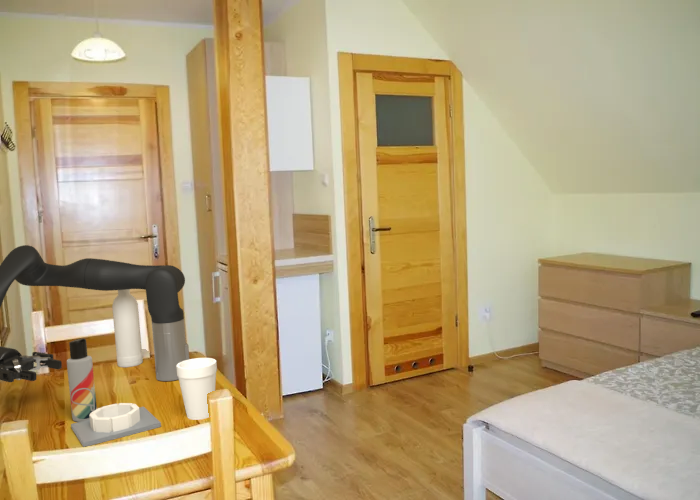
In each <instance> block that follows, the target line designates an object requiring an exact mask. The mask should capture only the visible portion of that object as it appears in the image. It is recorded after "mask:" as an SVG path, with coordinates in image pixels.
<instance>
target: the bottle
mask: <svg viewBox="0 0 700 500" xmlns="http://www.w3.org/2000/svg"><path fill="white" fill-rule="evenodd" d="M111 306H112V307H111V308H112V317H113V319H112V321H113V329H114V341H115V349H116V351H115V352H116V357H115V358H116V363H117V367H120V368H133V367H137V366H139V365H141V364H143V363H144V362H143V361H144V360H143V357H144V355H143V350H142V337H141V327H140V326H141V325H140V315H139V303H138V301H137V299H136V297H135V296H134V295H133V294H131V289H126V290H117V296H116V297H115V298H114V299H113V301H112V305H111Z"/></svg>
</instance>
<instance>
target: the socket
mask: <svg viewBox="0 0 700 500" xmlns="http://www.w3.org/2000/svg"><path fill="white" fill-rule="evenodd" d="M89 416H90V420H86V421H81V422H74V423H70V428H71V430H72V431H73V433H74V434H75V436H76V438H77V439H78V441H79V442H80V445H82V447H83V448H86V447H89V446H94V445H97V444H101V443H105V442H108V441H113V440H115V439H120V438H124V437H128V436H131V435H135V434H138V433H143V432H146V431H150V430H153V429H158V428H161V427H162V422H161V421H160V420H159V419H158V418H157V417H155V416H154V415H153V414H152V413H151V412H150V411H149V410H148V409H147V408H146V407H145V406H140V407H139V406H138V405H137V404H136V403H134V402H133V403H131V402H119V403H117V402H116V403H112V404H109V405H104V406H101V407H97V409H96V410H95V411H93V412H91V413H90V415H89ZM85 446H86V447H85Z"/></svg>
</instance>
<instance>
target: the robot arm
mask: <svg viewBox="0 0 700 500" xmlns="http://www.w3.org/2000/svg"><path fill="white" fill-rule="evenodd" d="M14 281H16V282H17V283H18V284H20V285H22V286H25V287H26V286H28V287H64V288H66V287H67V288H73V289H74V288H77V289H85V290H93V291H105V292H107V291H111V292H112V291H118V290H126V289H130V290H135V289H136V290H145V295H146V296H145V297H146V303H147V311H148V314H149V316H150V319H151V331H152V341H153V354H154V365H155V377H156V380H157V381H160V382H171V381H177V380H178V381H179V378H178V376H177V368H176V366H177V364H178V363H180V362H182V361H185V360H189V359H190V350H189V344H188V343H187V341H186V339H187V338H186V328H185V327H186V325H185V315H184V309H182V308H181V306H180V302H179V300H180V299H179V292H180V291H181V290H183V288H184V287H185V284H186V278H185V275H184V273H183V272H182V270H181V269H180V268H178V267H176V266H174V265H169V264H167V265H165V264H164V265H145V264H136V263H135V264H134V263H129V262H124V261H123V262H122V261H117V260H116V261H115V260H109V259H102V258H93V257H92V258H90V257H89V258H82V259H79V260H77V261H74V262H71V263H69V264H66V265H65V264H64V265H62V264H61V265H58V264H53V263H52V264H51V263H46V262H45V261H44V260H43V258H42V256H41V254H40V252H39V251H38V250H37V249H36V248H35V247H34V246H33V245H29V244H28V245H25V244H24V245H20V246H17V247H15V248H13V249H12V250H11V251H9V253H8V254H7V255H6V257H4V259H3V260H2V262H1V264H0V308H2V305H3V302H4V300H5V297H6V295H7V292H8V291H9V288H10V287H11V286H12V284H13V283H14ZM31 354H32V355H22V354H21V353H20V352H19V350H18V349H16V348H11V347H6V346H0V381H3V382H6V383H7V382H8V383H13V382H14V381H15V380H16V381H20V380H26V381H29V382H30V381H31V382H34V381H36V380H37V372H36V371H39V370H40V369H42V368H44V369H45V368H49V369H54V370H61V369H62V368H63V365H62V361H61V360H60V359H59V360H58V359H55V358H54V354H52V353H47V352H45V353H44V352H39V351H33V352H32V353H31ZM35 364H36V365H35ZM34 365H35V366H34Z"/></svg>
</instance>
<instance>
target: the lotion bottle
mask: <svg viewBox="0 0 700 500" xmlns="http://www.w3.org/2000/svg"><path fill="white" fill-rule="evenodd" d="M68 346H69V355H70V356H69V358H68V359H67V360H66V368H67V379H68V386H69V388H68V389H69V398H70V399H69V400H70V406H71V407H70V409H71V417H72V420H73V422H75V423H77V422H81V421H86V420H90V416H89V415H90V413H91V412H93V411H95V410H96V409H98V407H97V398H96V397H97V396H96V395H97V394H96V388H95V378H94V377H95V375H94V365H93V357H92V356H91V355H88V346H87V339H86V338H82V337H81V338H77V339H74V340H71V341H69V342H68Z"/></svg>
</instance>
